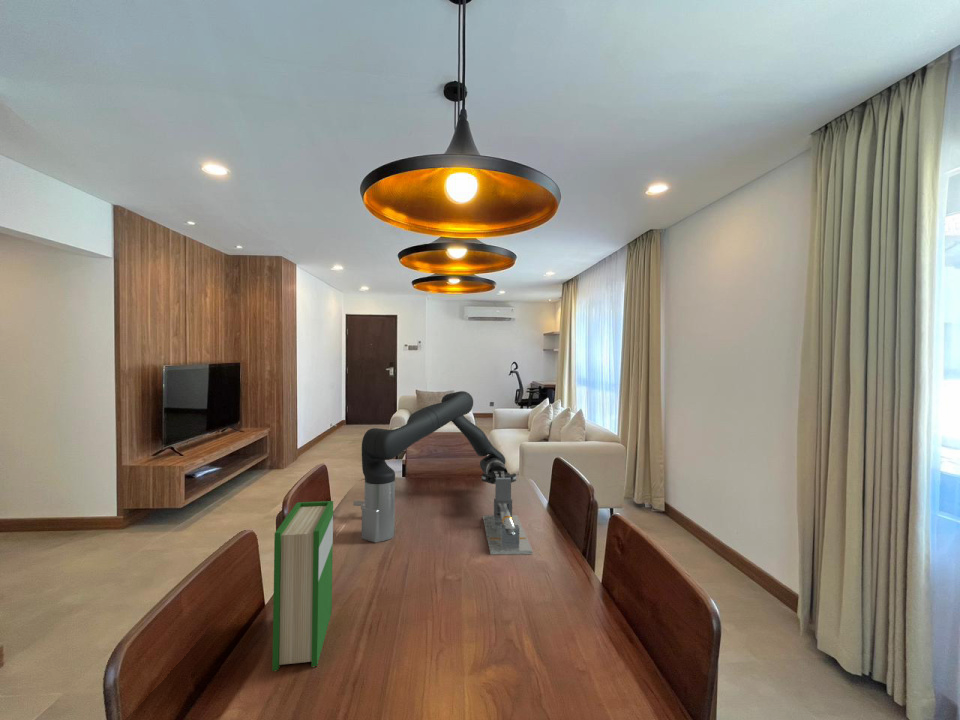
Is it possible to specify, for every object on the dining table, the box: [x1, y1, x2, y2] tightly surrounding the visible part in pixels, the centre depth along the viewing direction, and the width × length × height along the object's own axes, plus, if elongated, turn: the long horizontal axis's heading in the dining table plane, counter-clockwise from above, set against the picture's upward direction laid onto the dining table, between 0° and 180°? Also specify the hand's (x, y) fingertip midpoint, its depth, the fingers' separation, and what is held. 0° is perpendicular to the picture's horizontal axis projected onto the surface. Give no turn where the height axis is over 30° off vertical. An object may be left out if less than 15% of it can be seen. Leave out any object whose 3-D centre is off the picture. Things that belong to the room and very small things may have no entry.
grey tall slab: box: [493, 478, 513, 518], centre depth 150 cm, size 2×6×13 cm, turn 93°
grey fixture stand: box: [482, 503, 533, 556], centre depth 143 cm, size 30×12×8 cm, turn 3°
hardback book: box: [271, 500, 334, 672], centre depth 88 cm, size 18×7×24 cm, turn 10°
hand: (501, 483), depth 153 cm, fingers closed
